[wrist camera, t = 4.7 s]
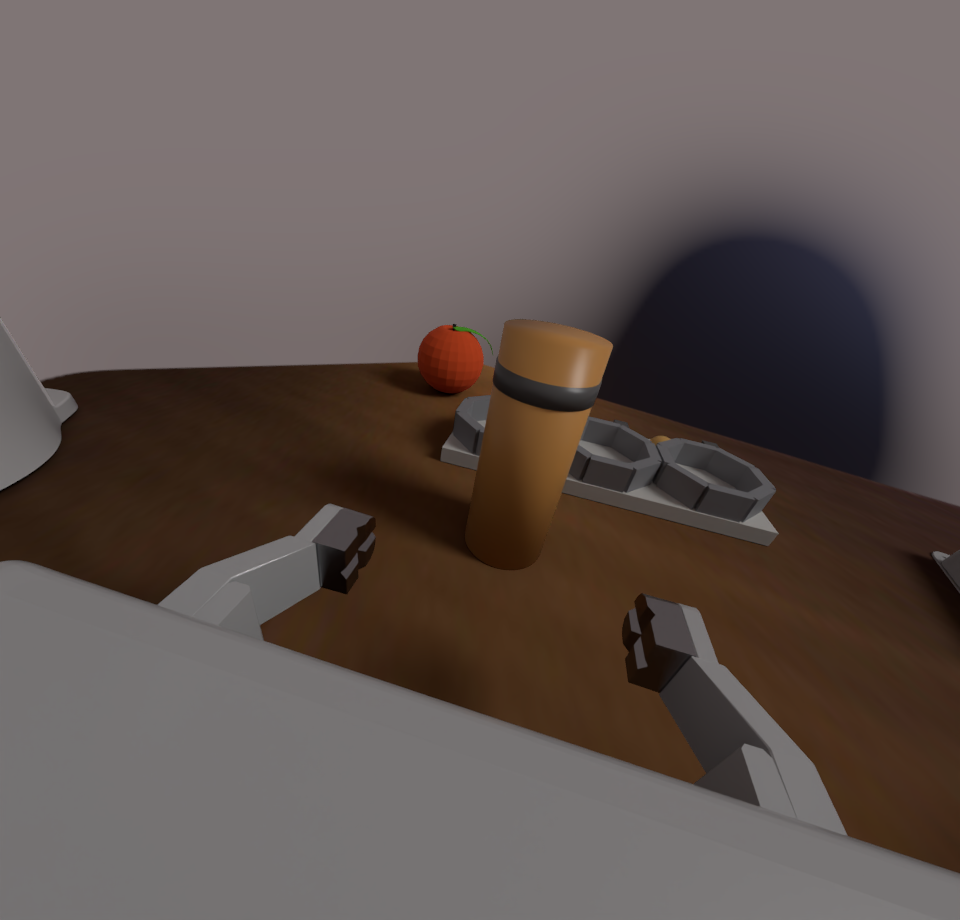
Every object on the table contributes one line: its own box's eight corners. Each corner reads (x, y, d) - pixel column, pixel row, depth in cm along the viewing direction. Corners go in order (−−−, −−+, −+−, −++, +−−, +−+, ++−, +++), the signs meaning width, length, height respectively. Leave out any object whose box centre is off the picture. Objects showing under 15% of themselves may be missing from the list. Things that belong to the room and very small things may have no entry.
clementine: (479, 382, 44) (489, 321, 40) (494, 406, 38) (507, 338, 35) (412, 377, 42) (416, 312, 38) (418, 402, 36) (423, 329, 32)
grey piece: (440, 460, 28) (445, 423, 26) (473, 408, 37) (478, 378, 35) (768, 546, 25) (796, 511, 23) (714, 467, 34) (732, 437, 33)
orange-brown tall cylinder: (454, 556, 20) (494, 331, 13) (473, 505, 24) (511, 314, 17) (538, 580, 19) (620, 359, 13) (544, 524, 23) (608, 334, 17)
